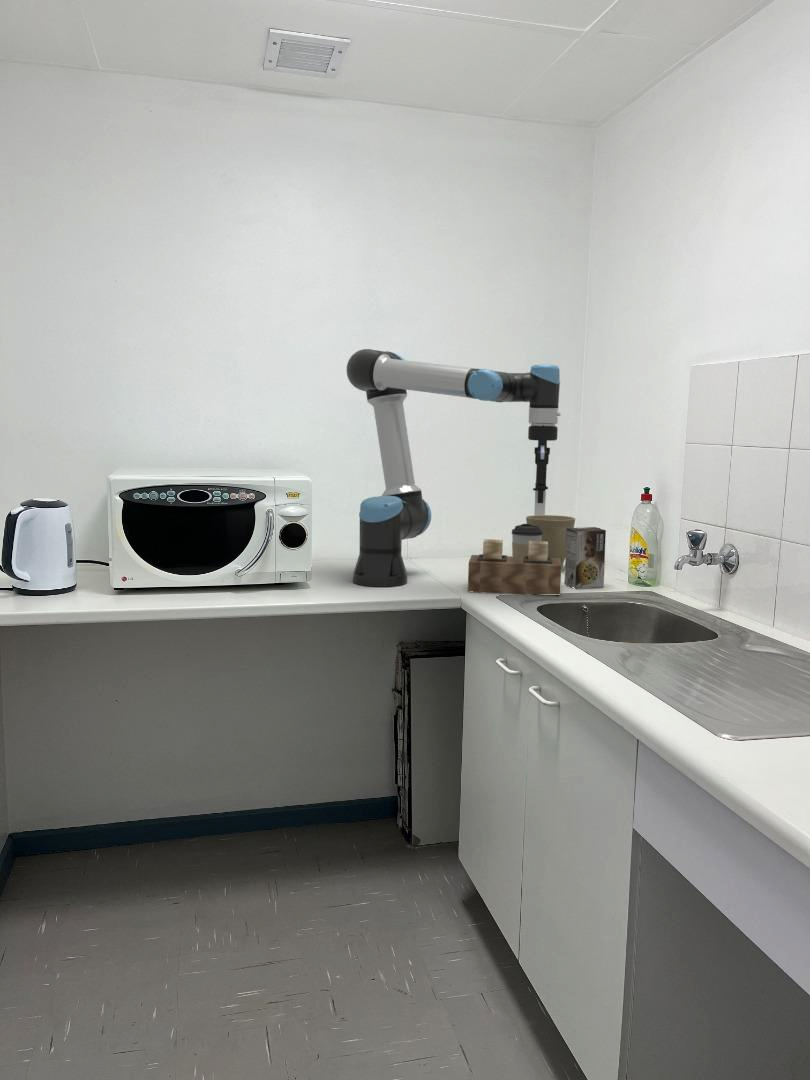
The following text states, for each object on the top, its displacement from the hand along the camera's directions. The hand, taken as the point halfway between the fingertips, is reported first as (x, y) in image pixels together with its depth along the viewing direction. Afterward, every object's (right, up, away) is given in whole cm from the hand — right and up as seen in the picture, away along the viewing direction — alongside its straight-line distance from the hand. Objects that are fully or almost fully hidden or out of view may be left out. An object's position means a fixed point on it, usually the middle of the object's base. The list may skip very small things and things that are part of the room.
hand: (539, 514), depth 218 cm
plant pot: (+9, -16, +37) cm, 41 cm away
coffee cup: (0, -17, +24) cm, 30 cm away
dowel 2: (0, -14, +2) cm, 14 cm away
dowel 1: (-12, -13, +4) cm, 18 cm away
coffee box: (+14, -20, +10) cm, 26 cm away
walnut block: (-6, -20, +4) cm, 21 cm away
